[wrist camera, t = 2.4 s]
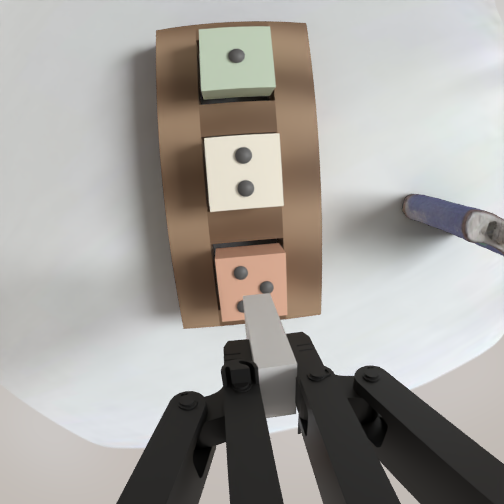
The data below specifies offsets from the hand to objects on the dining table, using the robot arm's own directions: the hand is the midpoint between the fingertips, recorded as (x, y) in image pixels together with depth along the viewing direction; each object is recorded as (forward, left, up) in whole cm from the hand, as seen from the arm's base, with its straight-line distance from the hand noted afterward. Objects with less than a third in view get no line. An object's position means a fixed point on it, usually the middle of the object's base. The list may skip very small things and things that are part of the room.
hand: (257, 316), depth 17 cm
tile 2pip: (-8, 0, -6) cm, 10 cm away
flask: (-3, +19, -9) cm, 21 cm away
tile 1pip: (-15, 0, -6) cm, 16 cm away
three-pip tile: (0, 0, -6) cm, 6 cm away
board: (-8, 0, -9) cm, 12 cm away
